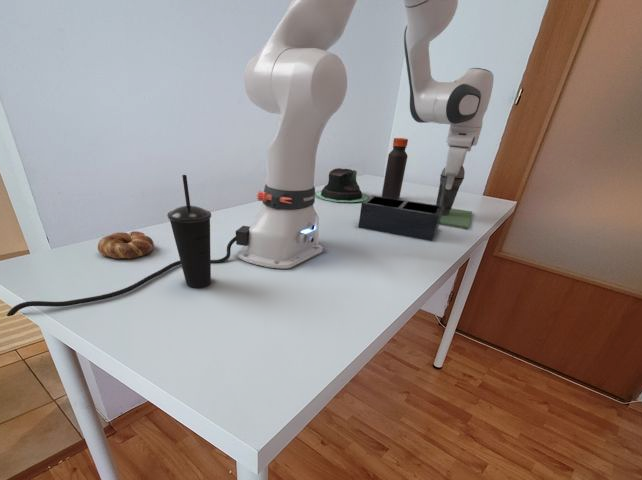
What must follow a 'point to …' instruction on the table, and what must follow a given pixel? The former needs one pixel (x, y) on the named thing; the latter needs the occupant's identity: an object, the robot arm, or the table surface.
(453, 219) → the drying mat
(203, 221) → the drinking cup
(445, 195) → the beverage cup
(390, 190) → the bottle
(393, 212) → the black divided storage box
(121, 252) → the braided bread ring
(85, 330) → the table surface
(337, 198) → the black fabric hat shape
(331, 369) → the table surface
